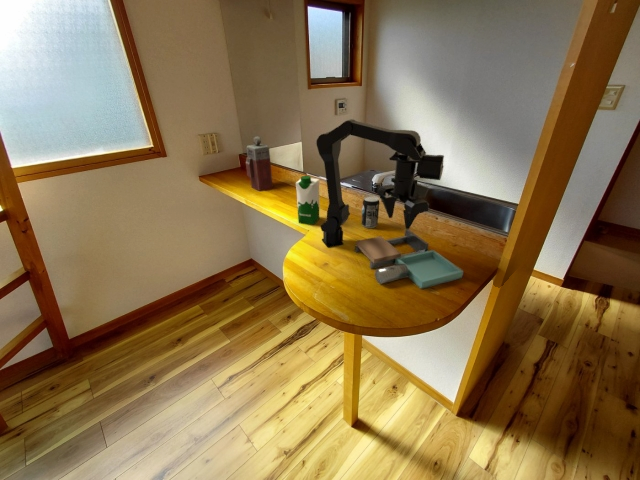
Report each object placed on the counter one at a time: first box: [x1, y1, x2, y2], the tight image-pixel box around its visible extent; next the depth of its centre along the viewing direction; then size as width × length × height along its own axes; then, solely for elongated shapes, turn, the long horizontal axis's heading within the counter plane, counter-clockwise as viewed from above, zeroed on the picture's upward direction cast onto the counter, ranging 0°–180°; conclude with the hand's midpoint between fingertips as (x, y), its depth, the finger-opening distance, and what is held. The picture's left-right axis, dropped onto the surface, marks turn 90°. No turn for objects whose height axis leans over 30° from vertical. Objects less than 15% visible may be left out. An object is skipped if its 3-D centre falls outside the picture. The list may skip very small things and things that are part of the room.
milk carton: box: [295, 175, 320, 226], centre depth 126 cm, size 9×9×20 cm
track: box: [354, 228, 430, 270], centre depth 104 cm, size 22×12×5 cm, turn 110°
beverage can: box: [361, 195, 380, 229], centre depth 123 cm, size 7×7×12 cm
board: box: [355, 236, 402, 263], centre depth 103 cm, size 10×13×3 cm
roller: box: [374, 263, 409, 285], centre depth 91 cm, size 9×4×4 cm, turn 110°
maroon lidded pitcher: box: [245, 136, 274, 192], centre depth 163 cm, size 9×11×28 cm
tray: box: [394, 249, 464, 290], centre depth 95 cm, size 15×14×2 cm
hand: (398, 223), depth 97 cm, fingers open, 9 cm apart
